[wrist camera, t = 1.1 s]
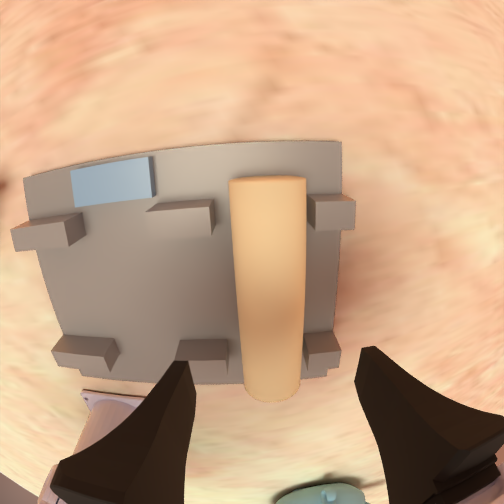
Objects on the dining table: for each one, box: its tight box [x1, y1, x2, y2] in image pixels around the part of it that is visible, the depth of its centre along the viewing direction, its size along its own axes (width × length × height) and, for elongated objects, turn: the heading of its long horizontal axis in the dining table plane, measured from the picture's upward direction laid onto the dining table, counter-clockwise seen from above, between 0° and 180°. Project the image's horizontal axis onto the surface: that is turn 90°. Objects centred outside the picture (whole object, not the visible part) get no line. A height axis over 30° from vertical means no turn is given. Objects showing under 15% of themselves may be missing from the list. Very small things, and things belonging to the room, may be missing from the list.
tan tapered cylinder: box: [228, 175, 306, 402], centre depth 17 cm, size 14×4×4 cm, turn 3°
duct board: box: [10, 141, 356, 384], centre depth 18 cm, size 18×22×3 cm
